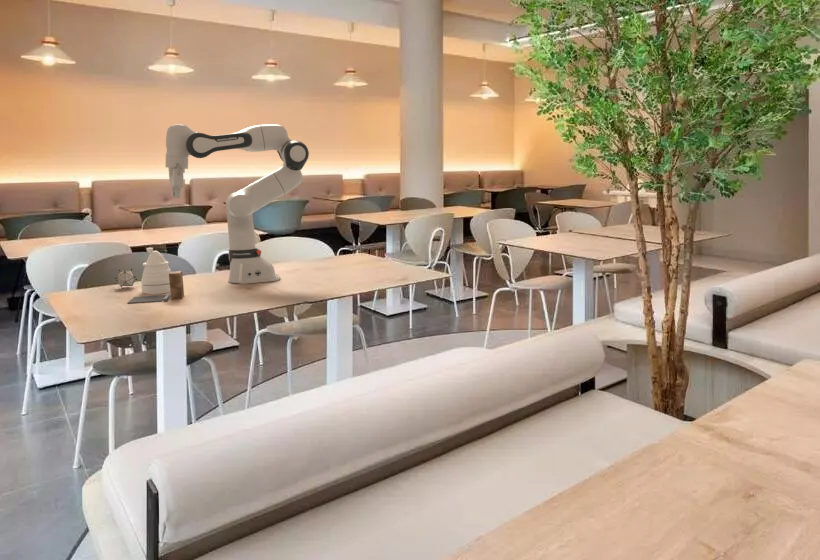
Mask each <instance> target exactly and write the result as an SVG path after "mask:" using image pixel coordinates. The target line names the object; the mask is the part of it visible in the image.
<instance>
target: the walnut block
mask: <svg viewBox="0 0 820 560" xmlns="http://www.w3.org/2000/svg"><path fill="white" fill-rule="evenodd" d="M169 281H170V292H171V297H170V299H171V300H172V301H173V300H182V299H183V298H184V297H185V291H184V288H185V287H184V279H183V270H177V271H176V270H174V271H172V270H171V272H170V273H169Z"/></svg>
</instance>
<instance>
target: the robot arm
mask: <svg viewBox="0 0 820 560" xmlns="http://www.w3.org/2000/svg"><path fill="white" fill-rule="evenodd" d="M165 135H166V137H165V147H166V153H165V168H168V178H169V185H170V186H172V197H174V198H175V199H180V197H181V195H180V194H181V188H183V187H184V173H185V170H188V169H189V156H192V157H193V158H196V159H202V158H203V159H205V158H206V157H209V156H210V155H211V154H214V153H216V152H221V151H227V150H228V151H229V150H236V149H237V150H241V151H246V152H255V153H256V152H266V151H276V152H277V154H278V156H279V158H280V160H281V161H282V163H283V164H282V165H281V166H280V167H279V168H277V169H276V170H274V171H272V172H270V173H268V174H266V175H264V176H263V177H261V178H259V179H257V180H256V181H254V182H252V183H250V184H249V185H247V186H244V187H243V188H242V189H240V190H238V191H234V192H232V193H230V194H228V195H227V198H226V200H225V208H226V209H225V210H226V223H227V230H228V231H227V232H228V234H227V235H228V243H229V244H228V245H229V249H228V260H229V274H228V275H229V276H228V283H231V284H232V283H233V284H241V285H244V284H256V283H266V282H267V283H269V282H277V281H280V280H281V275H280V274H276V271H275V267H274V265H273V264H272V263H271V262H269V261H268V260H267V259H265V258H264V257H262V256H261V255H262V250H260V249H259V248H257V247H256V238H255V237H256V236H255V226H254V217H253V214H254V213H256V212H257V211H259V210H261V209H263V207H265V206H267V205H269V204H270V203H272V202H274V201H276V200H277V199H280V198H281V197H283V196H285V195H287V194H288V193H290V192H291V191H293V190H295V189H296V188H297V187H298V186H299V185H301V184H302V182H303V179H304V177H303V173H302V169H303V167H304V166H305V164H307V161H308V159H309V157H310V152H309V148H308V147H307V145H306V144H305V143H303V142H302V141H299V140H294V139H293V140H292V139H290V137H289V134H288V131H287V129H286V128H285V127H284V126H283V125H281V124H274V123H273V124H270V123H268V124H257V125H251V126H248V127H245V128H242V129H241V130H239V131H236V132H232V133H225V134H217V135H211V134H210V135H209V134H206V133H202V132H197V131H195V130H193V129H192V128H190V127H189V126H188V125H187V124H172V125H170V126H169V127H167V129H166V134H165Z"/></svg>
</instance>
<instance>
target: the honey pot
mask: <svg viewBox="0 0 820 560" xmlns="http://www.w3.org/2000/svg"><path fill="white" fill-rule="evenodd" d="M146 252H147V253H149V255H148V257H147V260H146V262H143V263H142V267H144V268H143V271H142V275H141V276H142V278H141V279H140V282H141V293H142V292H143V293H142V294H144V293H148V294H147V295H156V294H158V293H159V294H166V293H167V294H168V293H169V292H170V281H169V273H170V272H171V271H172V270H171V268H170V266H169V264H170V262H169V261H167V260H166V258H165V257H164V256H163V254H162V253H160V251H158V250H154V247H146ZM159 294H158V295H159Z"/></svg>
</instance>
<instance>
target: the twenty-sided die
mask: <svg viewBox="0 0 820 560" xmlns="http://www.w3.org/2000/svg"><path fill="white" fill-rule="evenodd" d="M114 279H115V280H116V282H117V283H118V285H119V286H120V287H121V288H123V287H122V286H133V287H134V283H135V282H136V280H138V278H137V276H135V275H134V273H133V268H131V269H129V270H120V269H118V274H117V276H116V277H114Z"/></svg>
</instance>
